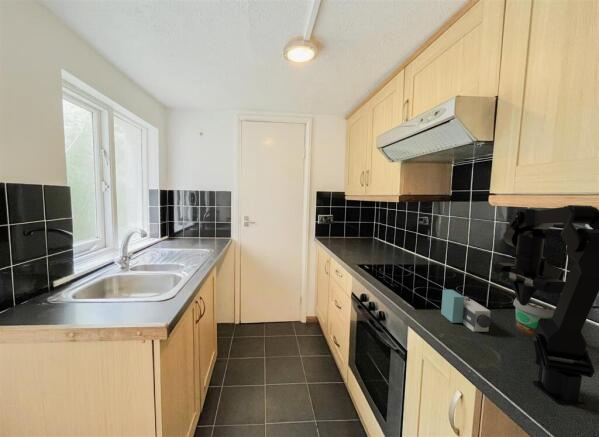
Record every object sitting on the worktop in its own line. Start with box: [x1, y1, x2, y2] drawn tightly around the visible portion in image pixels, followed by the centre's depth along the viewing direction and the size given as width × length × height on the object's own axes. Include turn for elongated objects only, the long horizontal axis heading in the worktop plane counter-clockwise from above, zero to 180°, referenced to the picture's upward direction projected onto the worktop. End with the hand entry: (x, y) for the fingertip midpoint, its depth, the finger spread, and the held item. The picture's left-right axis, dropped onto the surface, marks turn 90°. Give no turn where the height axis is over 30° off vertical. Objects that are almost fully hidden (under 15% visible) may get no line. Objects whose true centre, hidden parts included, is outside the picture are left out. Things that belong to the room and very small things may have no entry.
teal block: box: [440, 289, 465, 324], centre depth 97 cm, size 7×4×9 cm, turn 1°
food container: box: [512, 296, 555, 338], centre depth 88 cm, size 12×6×10 cm, turn 21°
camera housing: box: [461, 296, 492, 333], centre depth 94 cm, size 13×5×8 cm, turn 1°
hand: (523, 305), depth 79 cm, fingers closed
